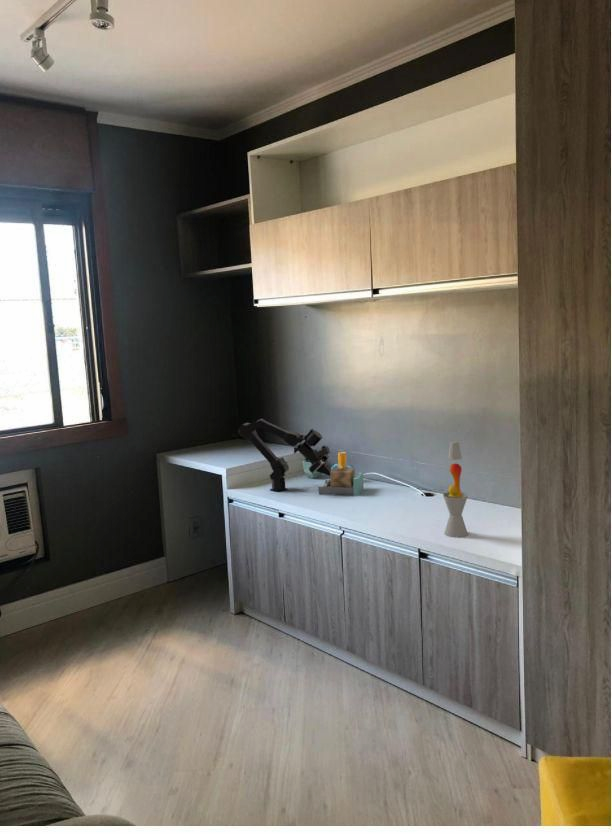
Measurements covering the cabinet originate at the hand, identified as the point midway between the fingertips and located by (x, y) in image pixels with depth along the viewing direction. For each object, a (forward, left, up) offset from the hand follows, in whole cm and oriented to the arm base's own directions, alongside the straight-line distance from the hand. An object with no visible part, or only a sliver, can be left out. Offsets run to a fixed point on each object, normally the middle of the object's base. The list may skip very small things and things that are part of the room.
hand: (331, 475), depth 322 cm
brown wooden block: (+5, +3, -4) cm, 7 cm away
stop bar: (+11, +6, -8) cm, 15 cm away
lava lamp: (+82, -20, -8) cm, 85 cm away
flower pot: (-29, +16, -8) cm, 34 cm away
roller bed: (+3, +2, -8) cm, 8 cm away
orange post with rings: (-10, +18, -8) cm, 22 cm away
